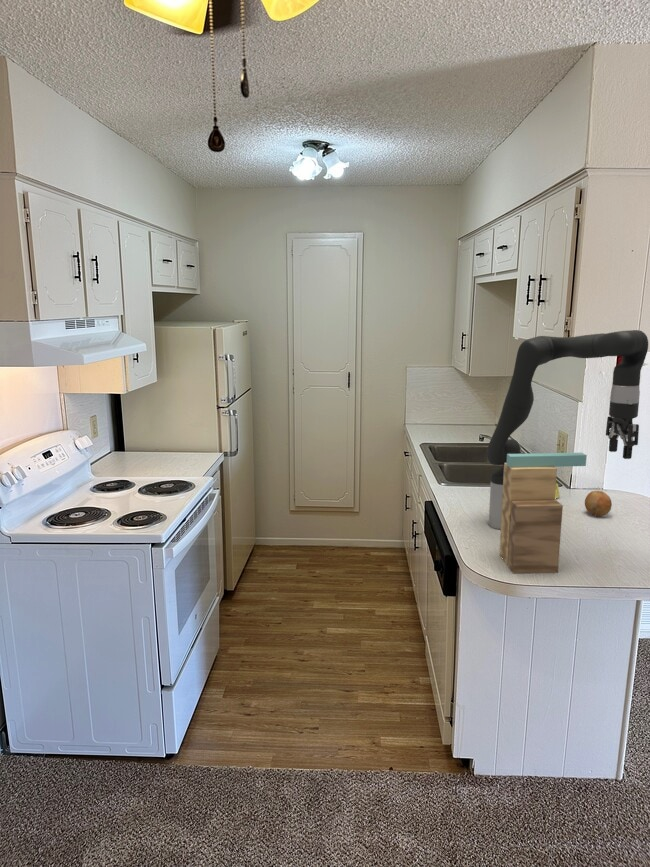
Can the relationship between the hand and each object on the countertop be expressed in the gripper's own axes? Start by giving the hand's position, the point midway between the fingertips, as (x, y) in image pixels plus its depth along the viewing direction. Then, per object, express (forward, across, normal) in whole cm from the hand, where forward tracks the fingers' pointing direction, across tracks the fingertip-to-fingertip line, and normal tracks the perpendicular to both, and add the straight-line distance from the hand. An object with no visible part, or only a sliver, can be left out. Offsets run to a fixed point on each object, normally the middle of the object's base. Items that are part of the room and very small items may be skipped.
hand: (619, 455), depth 175 cm
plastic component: (+38, -80, +4) cm, 88 cm away
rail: (+6, -13, -17) cm, 22 cm away
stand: (+38, -13, -22) cm, 46 cm away
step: (+38, -6, -22) cm, 44 cm away
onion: (+38, -54, +20) cm, 69 cm away
